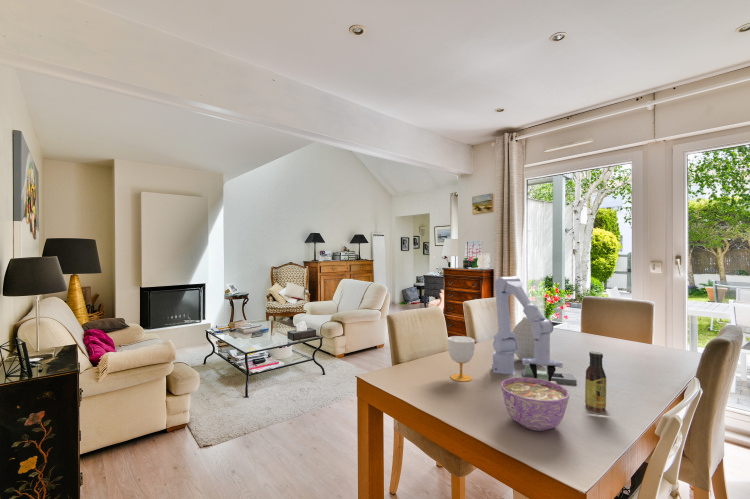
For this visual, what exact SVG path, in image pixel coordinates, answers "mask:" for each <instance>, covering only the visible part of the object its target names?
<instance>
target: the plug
mask: <svg viewBox="0 0 750 499" xmlns="http://www.w3.org/2000/svg"><path fill="white" fill-rule="evenodd" d="M548 378H549V376H548V373H547V370H546V371H544V370H543V371H542V370H537V379H541V380H546V381H548Z"/></svg>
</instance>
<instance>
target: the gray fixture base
mask: <svg viewBox="0 0 750 499" xmlns="http://www.w3.org/2000/svg"><path fill="white" fill-rule="evenodd" d="M524 367H525V368H524V369H522V371H521V374H522V377H526V378H534V376H533V372H532V370H531V368H530V365H529V364H526V365H524ZM551 381H555V382H556V383H557V384H562V385H571V386H572V385H574V386H577V385H578V384H577V379H576V377H575V376H574V375H573V374H572V373H564V372H556V371H555V372H554V374H553V376H552V378H551Z"/></svg>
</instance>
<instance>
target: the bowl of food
mask: <svg viewBox="0 0 750 499" xmlns="http://www.w3.org/2000/svg"><path fill="white" fill-rule="evenodd" d="M500 387H501V391H502V396H503V401H504V405H505V407H506V411H507V412H508V414H509V415H510V417H511V418H512V419H513V420H514V421H515V422H517V423H518V424H520V425H521V426H523V427H524V428H526V429H528V430H533V431H539V432H541V431H547V430H550V429H553V428H555V427H558V426H559V424H561V423H562V421H563V420H564V416H565V414H566V411H567V406H568V402H569V399H570V392H569V390H567V389H566V388H565V387H563V386H561V385H560V384H559V383H557V384H556V383H552V382H549V381H546V380H541V379H536V378H526V377H523V376H522V377H520V376H519V377H510V378H506V379H504V380H502V382H500Z"/></svg>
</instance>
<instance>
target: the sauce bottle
mask: <svg viewBox="0 0 750 499" xmlns="http://www.w3.org/2000/svg"><path fill="white" fill-rule="evenodd" d="M588 355H589V365H588V366H587V368H586V370H585V384H584V386H585V388H584V389H585V390H584V391H585V392H584V403H585V408H586V409H588V410H589V411H592V412H595V413H597V412H598V413H604V412H605V411H606V408H607V376H606V372H605V370H604V367H603V357H604V354H603V353H602V352H600V351H599V352H598V351H594V350H593V351H589V354H588Z"/></svg>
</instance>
